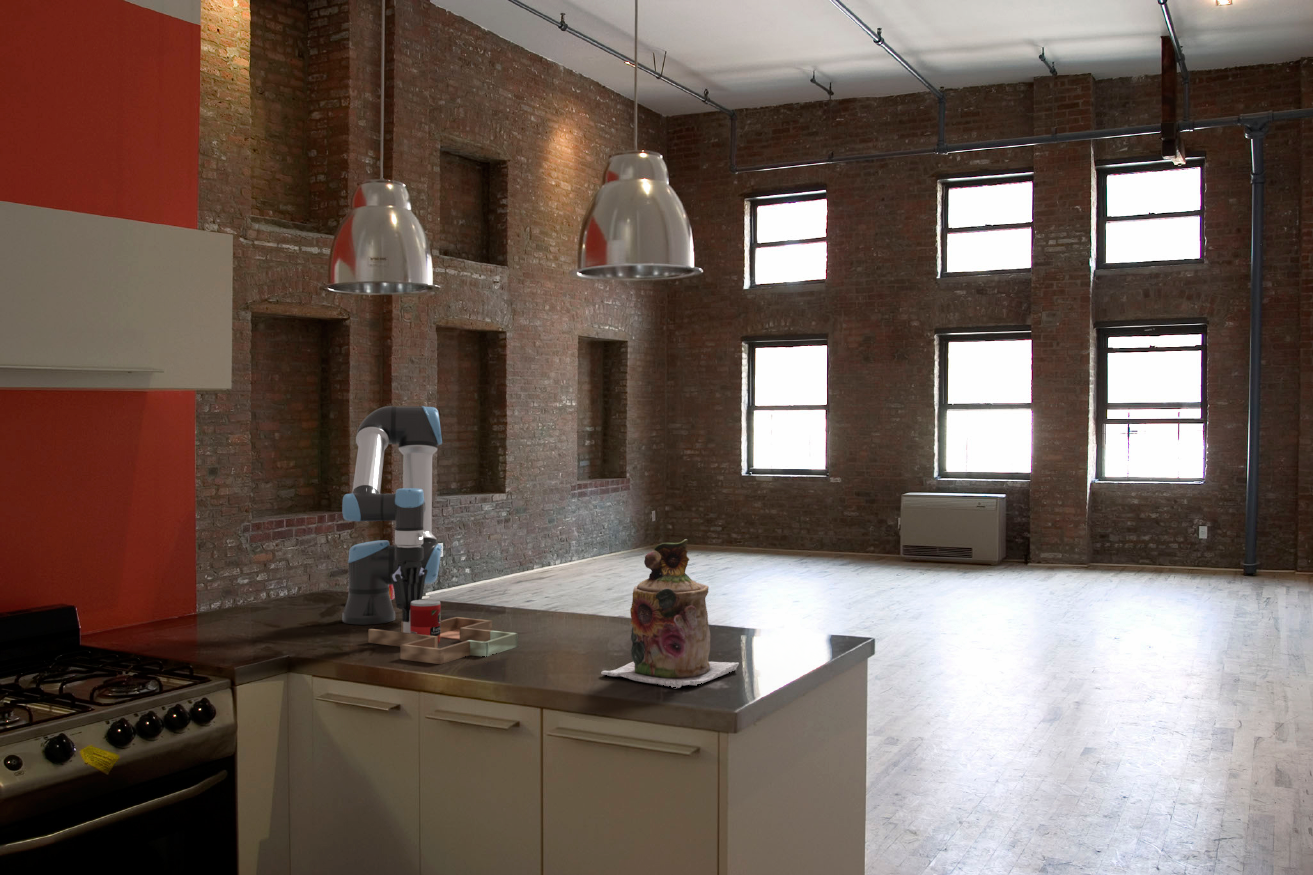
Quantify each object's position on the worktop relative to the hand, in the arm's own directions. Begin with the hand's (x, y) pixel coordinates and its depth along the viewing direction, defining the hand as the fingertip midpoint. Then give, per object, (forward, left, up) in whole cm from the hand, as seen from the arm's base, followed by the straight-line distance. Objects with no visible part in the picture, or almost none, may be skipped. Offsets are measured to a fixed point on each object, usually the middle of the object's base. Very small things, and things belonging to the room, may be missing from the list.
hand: (408, 633), depth 297 cm
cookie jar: (+79, -2, -2) cm, 80 cm away
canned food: (+5, 0, -2) cm, 6 cm away
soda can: (-50, +48, -2) cm, 69 cm away
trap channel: (+10, 0, -2) cm, 10 cm away
